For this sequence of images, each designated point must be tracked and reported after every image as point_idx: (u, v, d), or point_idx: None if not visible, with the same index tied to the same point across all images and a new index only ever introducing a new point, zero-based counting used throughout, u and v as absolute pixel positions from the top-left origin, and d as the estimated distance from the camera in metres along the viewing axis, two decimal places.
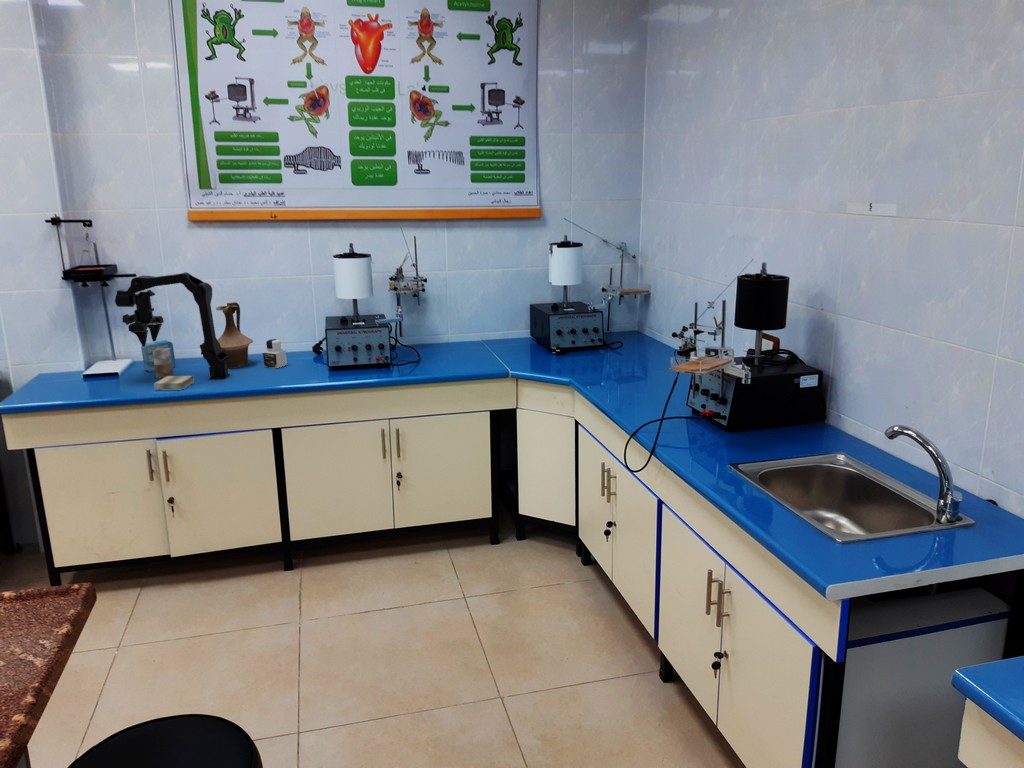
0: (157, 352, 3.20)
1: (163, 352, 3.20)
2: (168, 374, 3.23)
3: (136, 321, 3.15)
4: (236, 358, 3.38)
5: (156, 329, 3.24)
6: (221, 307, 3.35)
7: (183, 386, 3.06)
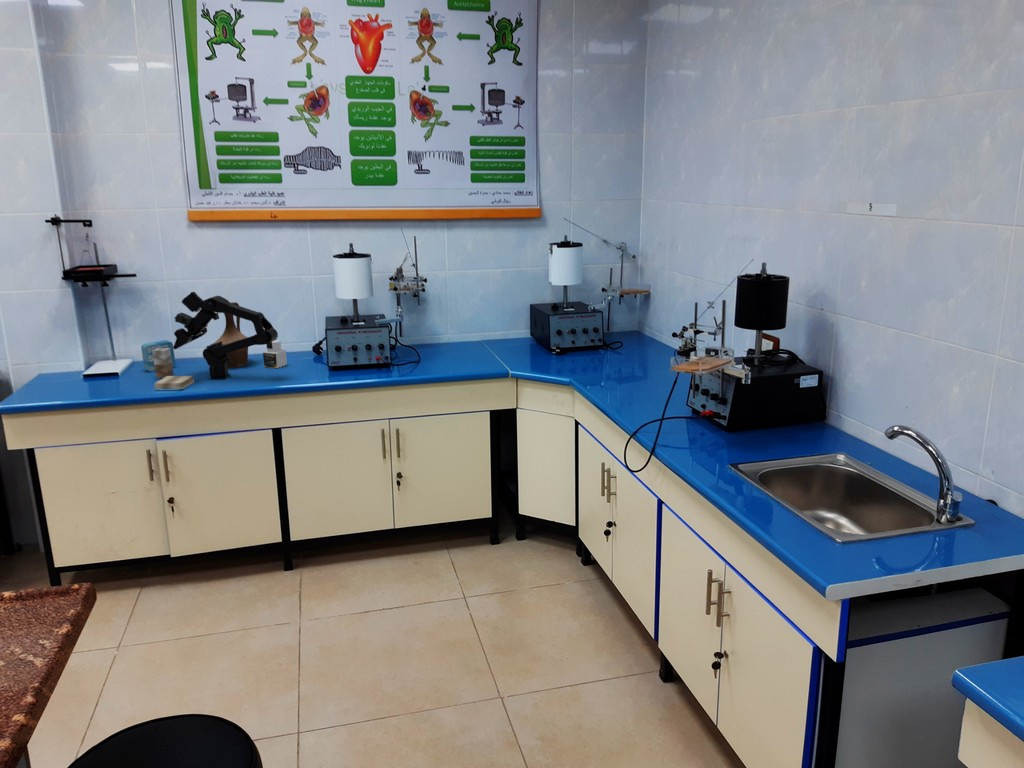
0: (157, 352, 3.20)
1: (163, 352, 3.20)
2: (168, 374, 3.23)
3: (185, 326, 3.16)
4: (236, 358, 3.38)
5: (194, 337, 3.25)
6: None
7: (183, 386, 3.06)
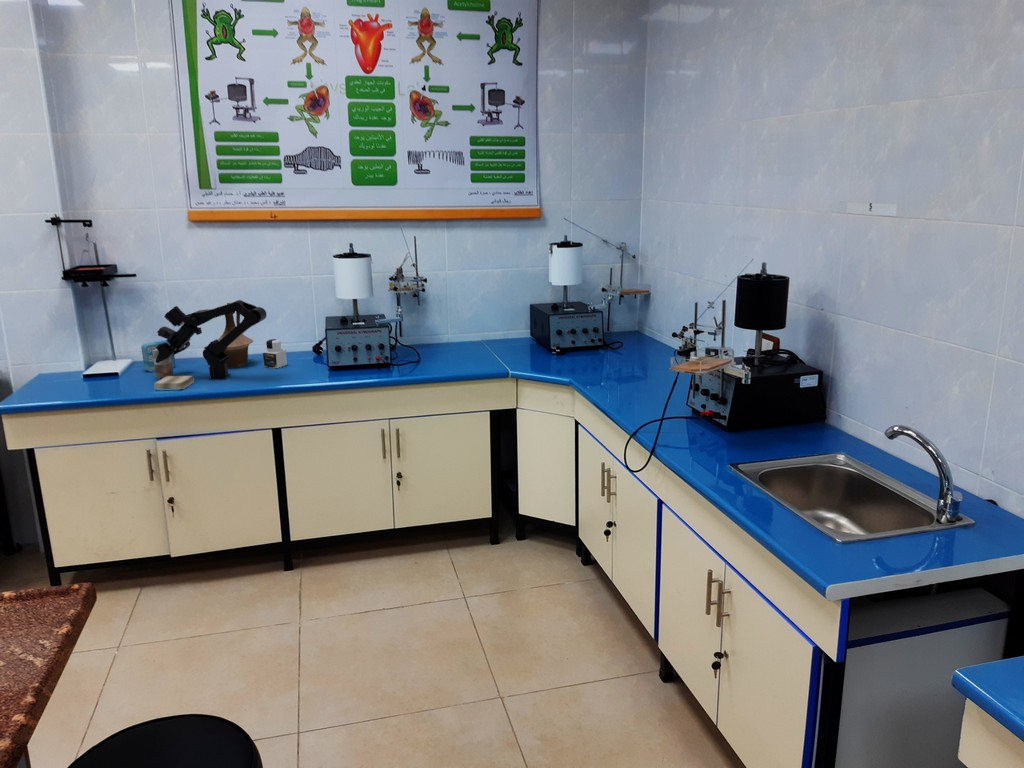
0: (157, 352, 3.20)
1: None
2: (168, 374, 3.23)
3: (168, 340, 3.18)
4: (236, 358, 3.38)
5: (177, 351, 3.27)
6: None
7: (183, 386, 3.06)
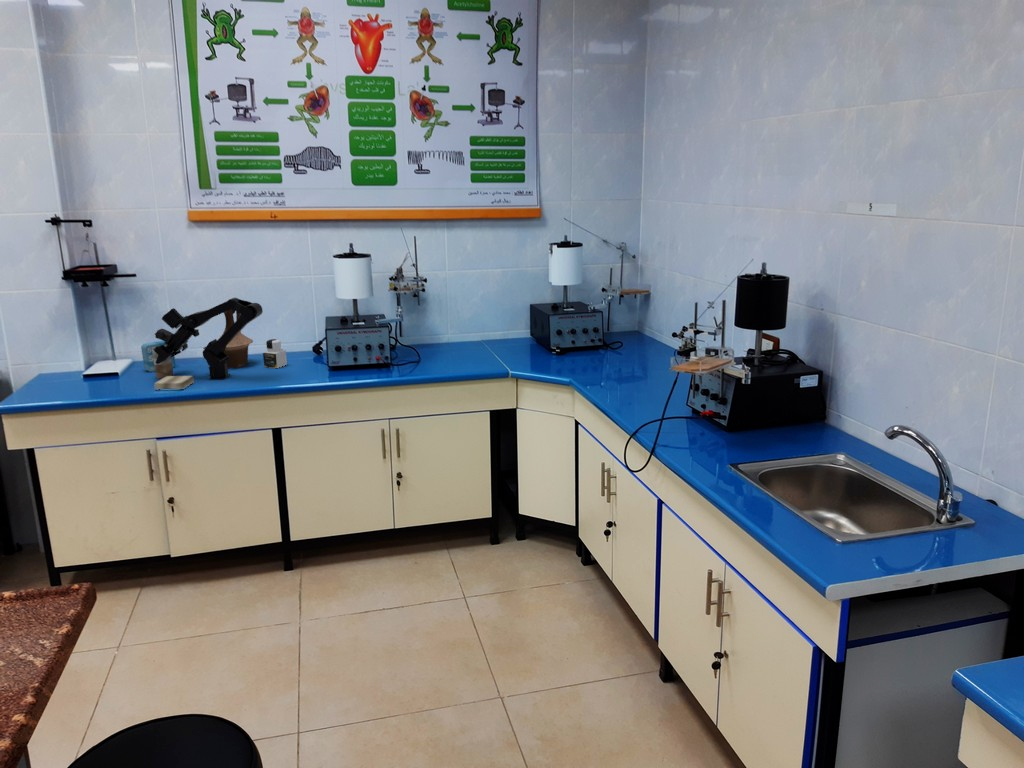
0: None
1: None
2: (168, 374, 3.23)
3: (165, 342, 3.18)
4: (236, 358, 3.38)
5: (173, 354, 3.25)
6: None
7: (183, 386, 3.06)
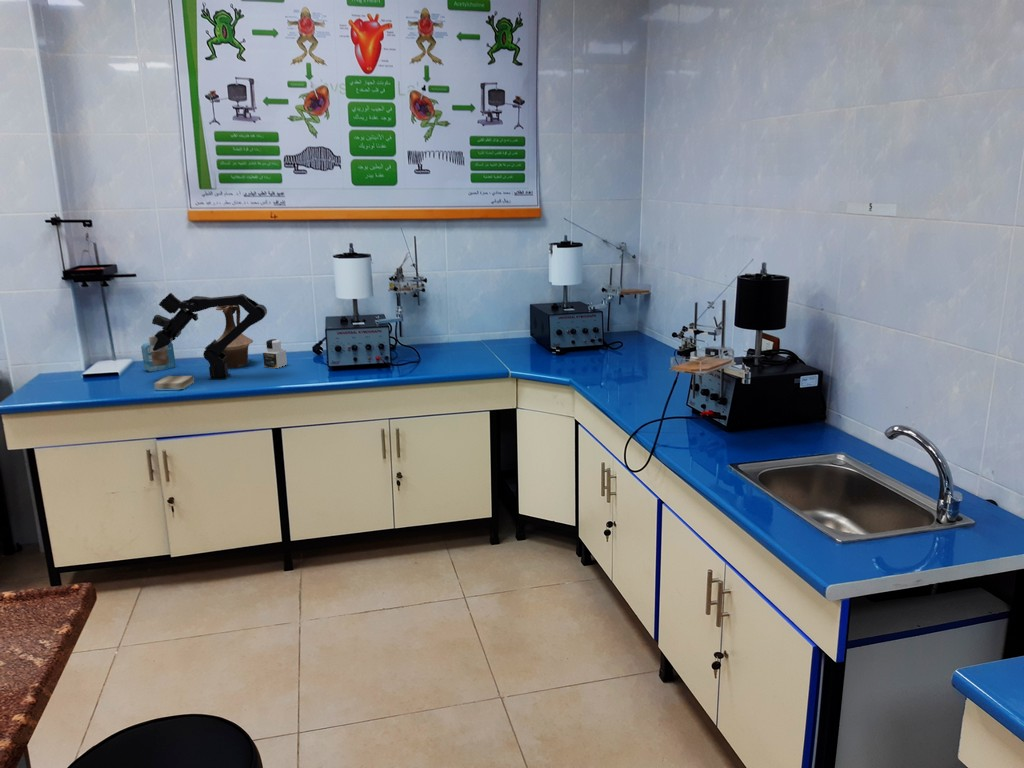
0: (154, 338, 3.13)
1: None
2: (166, 361, 3.17)
3: (164, 328, 3.12)
4: (236, 358, 3.38)
5: None
6: (221, 307, 3.35)
7: (183, 386, 3.06)
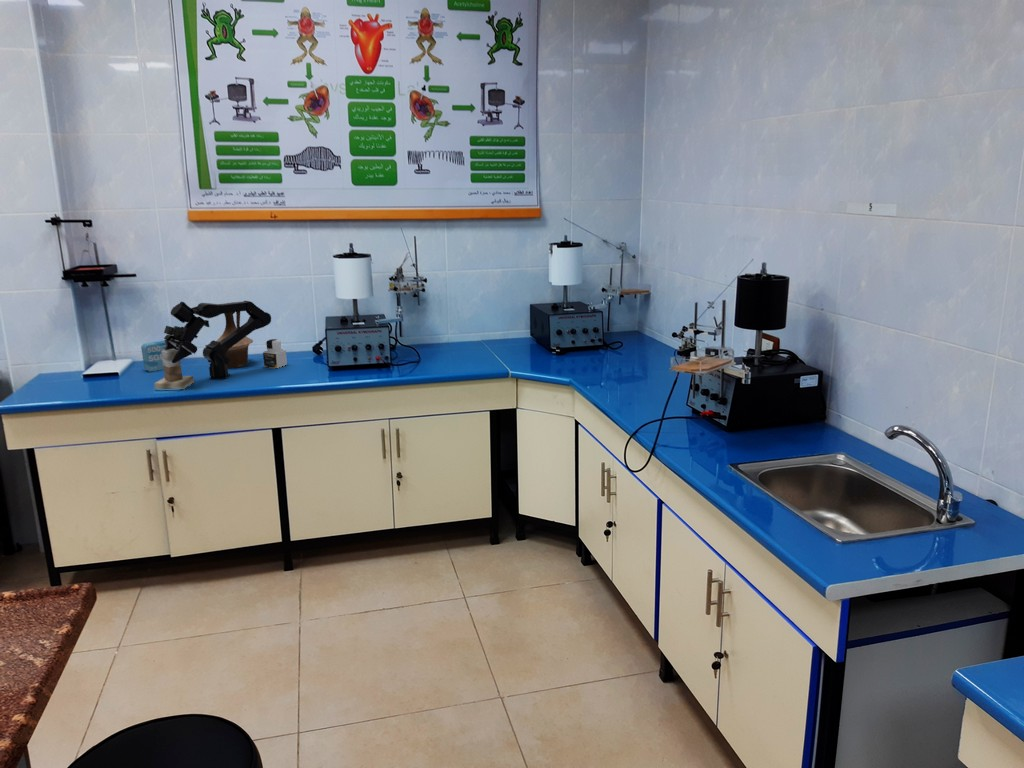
0: (171, 353, 3.05)
1: None
2: None
3: (181, 338, 3.06)
4: (236, 358, 3.38)
5: None
6: None
7: (183, 386, 3.06)
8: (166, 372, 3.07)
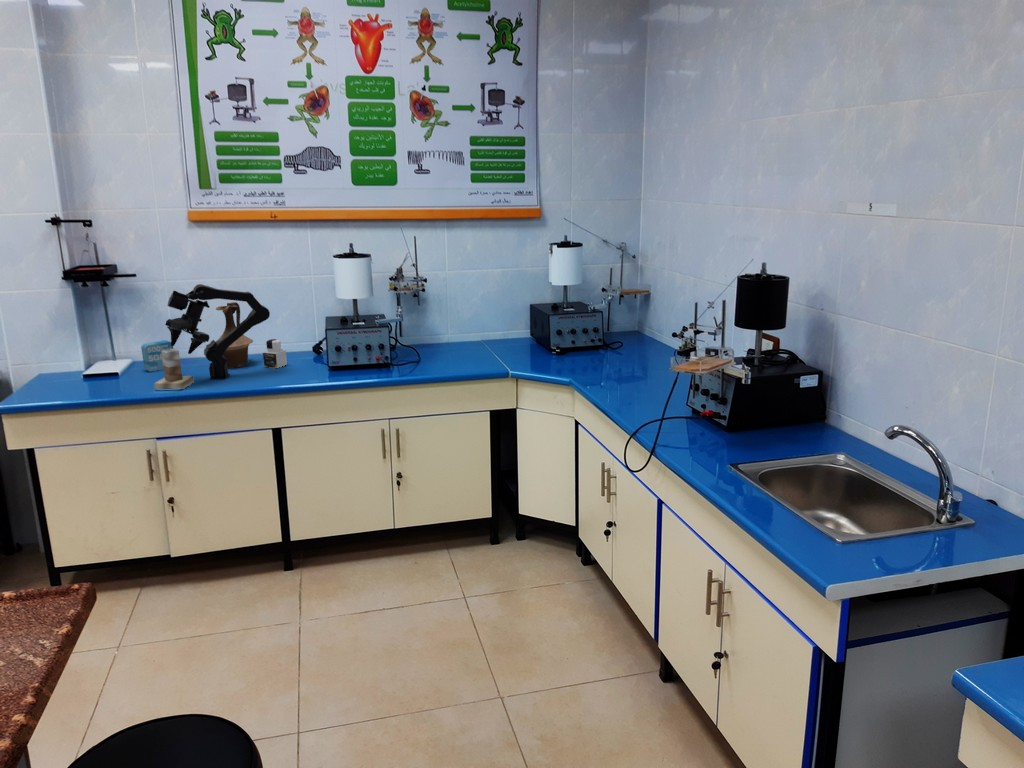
0: (171, 353, 3.05)
1: (178, 352, 3.06)
2: None
3: (189, 328, 3.10)
4: (236, 358, 3.38)
5: (178, 334, 3.17)
6: (221, 307, 3.35)
7: (183, 386, 3.06)
8: (166, 372, 3.07)
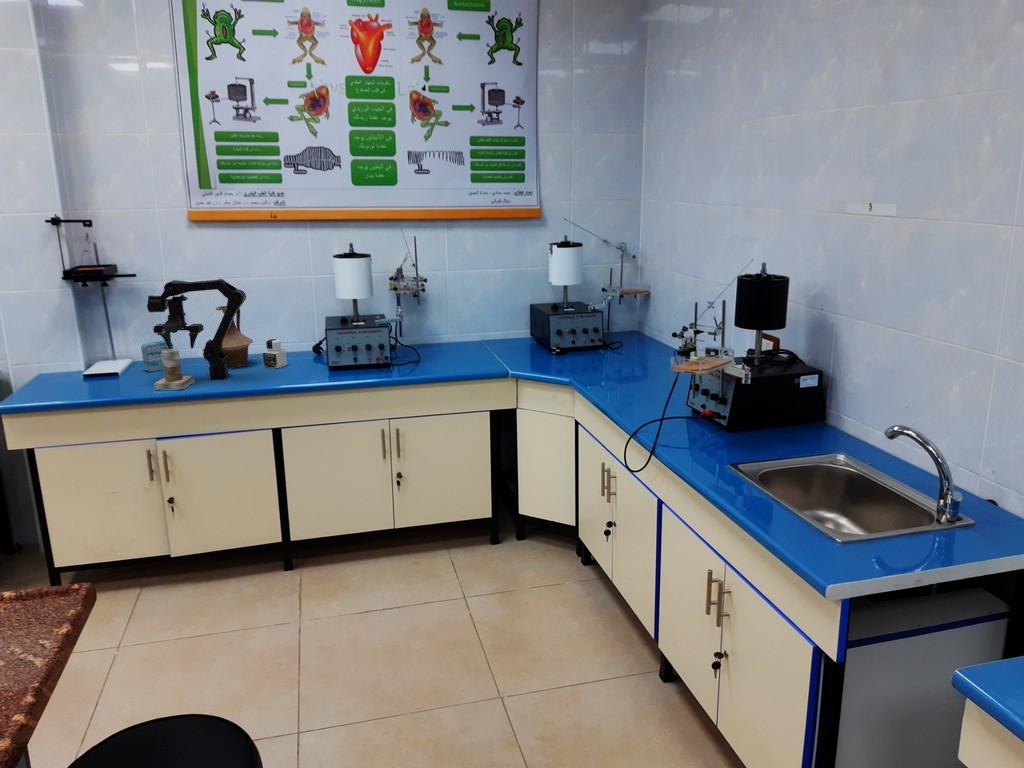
0: (171, 353, 3.05)
1: (178, 352, 3.06)
2: None
3: None
4: (236, 358, 3.38)
5: (169, 336, 3.19)
6: (221, 307, 3.35)
7: (183, 386, 3.06)
8: (166, 372, 3.07)
